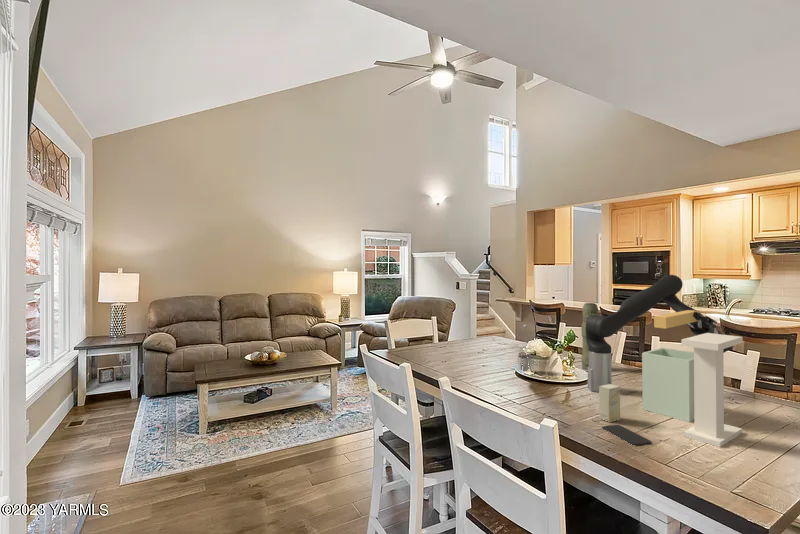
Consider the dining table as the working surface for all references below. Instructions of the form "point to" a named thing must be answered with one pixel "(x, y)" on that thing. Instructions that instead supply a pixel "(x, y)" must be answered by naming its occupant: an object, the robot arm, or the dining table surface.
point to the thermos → (588, 311)
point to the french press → (523, 356)
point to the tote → (668, 383)
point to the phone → (627, 435)
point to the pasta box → (674, 319)
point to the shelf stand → (710, 389)
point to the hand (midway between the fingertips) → (688, 313)
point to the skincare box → (609, 402)
